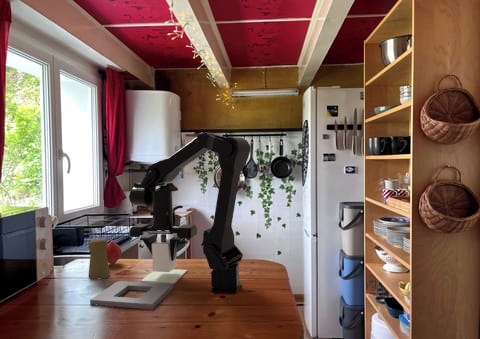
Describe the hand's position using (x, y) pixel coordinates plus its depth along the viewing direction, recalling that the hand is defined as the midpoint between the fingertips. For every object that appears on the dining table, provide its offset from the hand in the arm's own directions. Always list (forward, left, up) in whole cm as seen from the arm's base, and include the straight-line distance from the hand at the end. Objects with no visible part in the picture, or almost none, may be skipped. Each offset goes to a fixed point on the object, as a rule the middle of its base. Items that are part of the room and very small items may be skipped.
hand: (164, 260), depth 97 cm
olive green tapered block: (+20, +2, -5) cm, 21 cm away
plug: (0, 0, -2) cm, 2 cm away
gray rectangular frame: (+2, +14, -5) cm, 15 cm away
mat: (0, 0, -5) cm, 5 cm away
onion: (+22, -8, -5) cm, 24 cm away
